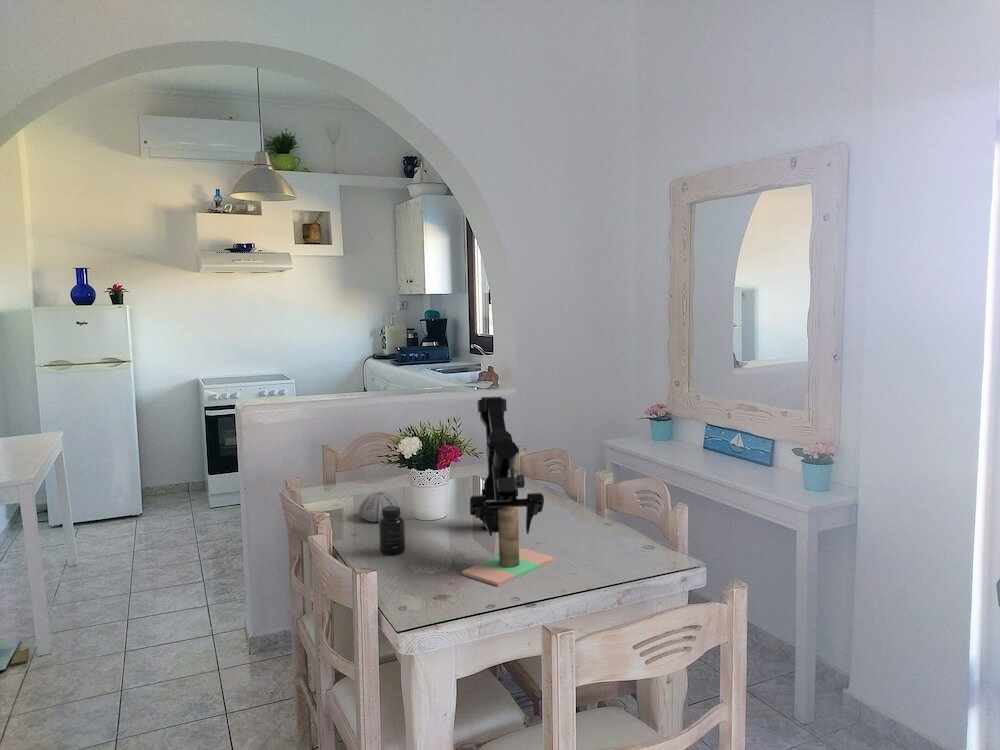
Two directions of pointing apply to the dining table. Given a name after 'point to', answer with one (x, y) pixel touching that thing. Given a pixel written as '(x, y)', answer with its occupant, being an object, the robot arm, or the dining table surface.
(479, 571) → the board
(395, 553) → the supplement bottle
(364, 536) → the dining table surface
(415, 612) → the dining table surface
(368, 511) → the sea urchin shell
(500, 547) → the walnut peg
